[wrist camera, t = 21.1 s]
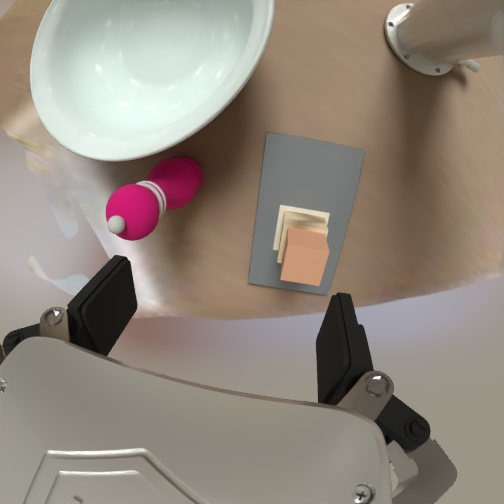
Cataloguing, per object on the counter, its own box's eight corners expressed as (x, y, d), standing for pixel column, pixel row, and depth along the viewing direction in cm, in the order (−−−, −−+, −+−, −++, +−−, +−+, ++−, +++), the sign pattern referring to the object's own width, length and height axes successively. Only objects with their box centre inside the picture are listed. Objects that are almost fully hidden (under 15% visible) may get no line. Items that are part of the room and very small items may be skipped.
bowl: (131, 178, 42) (76, 210, 29) (70, 40, 29) (13, 36, 16) (317, 90, 32) (334, 76, 19) (224, -58, 19) (199, -104, 7)
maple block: (324, 216, 40) (328, 230, 35) (316, 252, 43) (318, 268, 38) (284, 210, 40) (283, 223, 36) (278, 246, 43) (277, 262, 39)
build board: (363, 150, 35) (365, 151, 34) (326, 291, 47) (327, 295, 46) (267, 132, 36) (266, 132, 35) (248, 279, 48) (247, 283, 47)
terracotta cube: (324, 233, 36) (329, 251, 31) (316, 265, 38) (319, 286, 34) (288, 227, 36) (287, 244, 31) (281, 259, 38) (280, 279, 34)
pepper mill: (210, 194, 41) (154, 259, 24) (169, 201, 43) (98, 264, 25) (200, 149, 38) (130, 184, 21) (158, 159, 40) (74, 200, 22)
